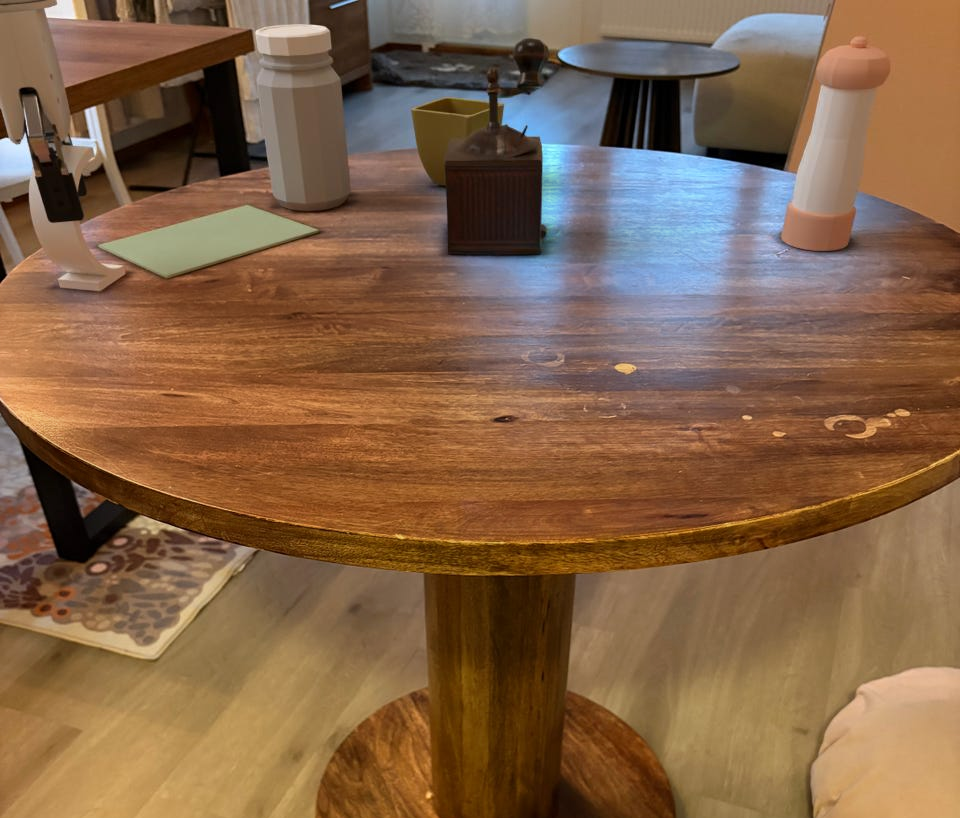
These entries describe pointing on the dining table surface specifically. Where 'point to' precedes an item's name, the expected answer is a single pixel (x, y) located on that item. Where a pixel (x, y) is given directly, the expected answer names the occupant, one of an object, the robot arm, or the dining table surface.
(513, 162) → the brown manual coffee grinder
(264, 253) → the dining table surface
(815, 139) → the salt shaker
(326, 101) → the jar
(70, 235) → the headphone stand
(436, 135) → the flower pot
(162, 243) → the placemat
